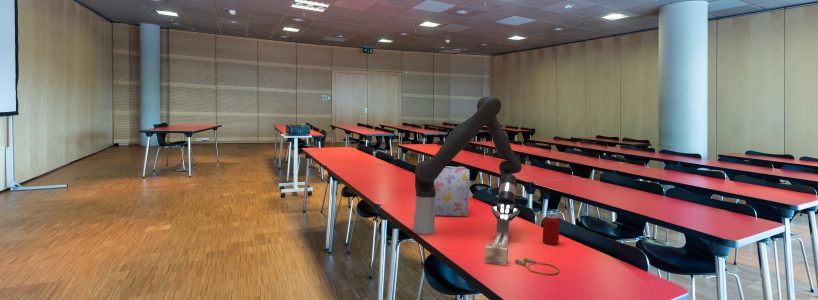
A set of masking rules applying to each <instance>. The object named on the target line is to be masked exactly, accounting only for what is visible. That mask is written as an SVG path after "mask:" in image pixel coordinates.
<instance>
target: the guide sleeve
mask: <svg viewBox="0 0 818 300" xmlns="http://www.w3.org/2000/svg"><path fill="white" fill-rule="evenodd" d="M500 236H501V233H496V235H495V239H494V241H493V243H494V244H498V242H499V239H500ZM508 244H509V234H504V238H503V241H502V245H508ZM508 246H509V245H508Z"/></svg>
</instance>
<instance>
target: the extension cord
mask: <svg viewBox="0 0 818 300" xmlns="http://www.w3.org/2000/svg"><path fill="white" fill-rule="evenodd" d="M527 263H529V264H528V265H527ZM514 264H518V265H520V266H523V267H524V266H525V269H527V270H528V271H530V272H531V273H534V274H538V275H542V276H556V275H558V274H560V268H558V267H557V266H556V265H554V264H550V263H546V262H540V261H536V260H535V259H532V258H527V257H524V258H523V260H521V259H519V258H516V259H515V260H514ZM537 264H541V265H543V266H544V265H545V266H550V267H553V268H554V269H556V270H557V272H553V273H546V272H540V271H536V270H532V269H530V268H529V267H530V266H533V265H537Z"/></svg>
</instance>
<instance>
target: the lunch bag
mask: <svg viewBox="0 0 818 300" xmlns="http://www.w3.org/2000/svg"><path fill="white" fill-rule="evenodd" d="M434 186H435V190H436V201H435V216H438V217H439V216H446V217H468V216H469V196H470V169H468V168H466V167H465V166H450V165H449V166H448V165H446V167H445V168H444V169H443V171H442V172H441V173H440V174H439V176H438V177H437V178H436V179H435V180H434Z"/></svg>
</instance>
